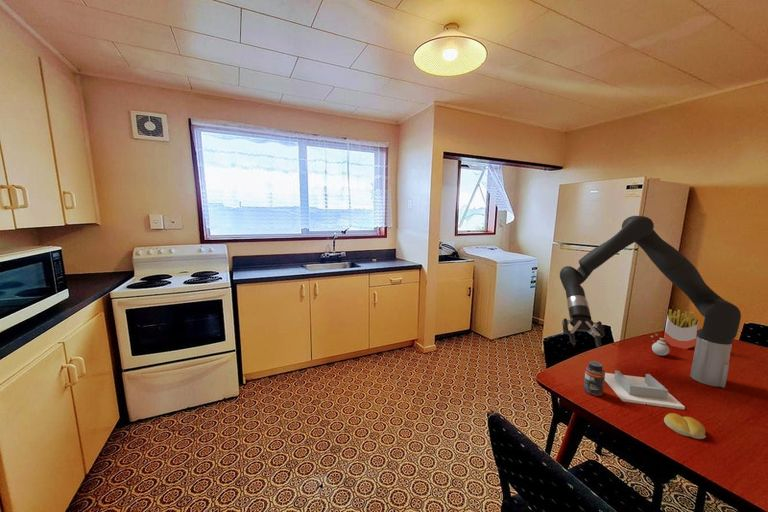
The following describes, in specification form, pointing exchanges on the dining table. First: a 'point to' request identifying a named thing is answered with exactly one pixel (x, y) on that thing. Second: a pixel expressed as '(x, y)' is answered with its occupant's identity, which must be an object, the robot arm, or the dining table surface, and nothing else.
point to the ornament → (660, 347)
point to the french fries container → (681, 329)
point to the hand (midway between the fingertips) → (586, 345)
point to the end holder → (641, 390)
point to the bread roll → (685, 426)
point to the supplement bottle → (594, 378)
